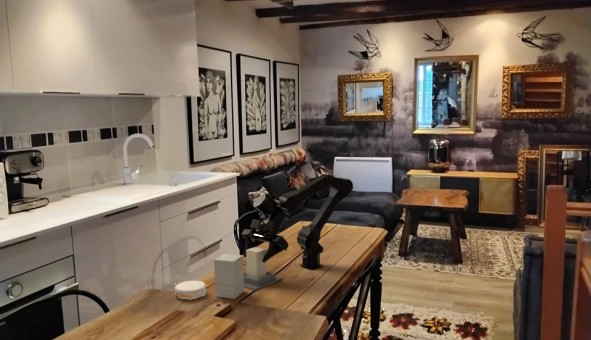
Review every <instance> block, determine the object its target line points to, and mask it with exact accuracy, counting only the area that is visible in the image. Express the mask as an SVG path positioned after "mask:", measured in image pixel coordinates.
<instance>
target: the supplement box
mask: <svg viewBox="0 0 591 340" xmlns="http://www.w3.org/2000/svg"><path fill="white" fill-rule="evenodd" d="M243 255H244V254H243ZM243 255H241V254H230V253H223V254H222V255H220V256H218V257H216V258H215V259H214V260H213V263H214V292H215V295H214V296H215V297H218V298H224V299H234V300H235V299H237V298H238V297H239V296H240V295H242V293H244V292H245V287H244V278H243V273H244V256H243Z"/></svg>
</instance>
